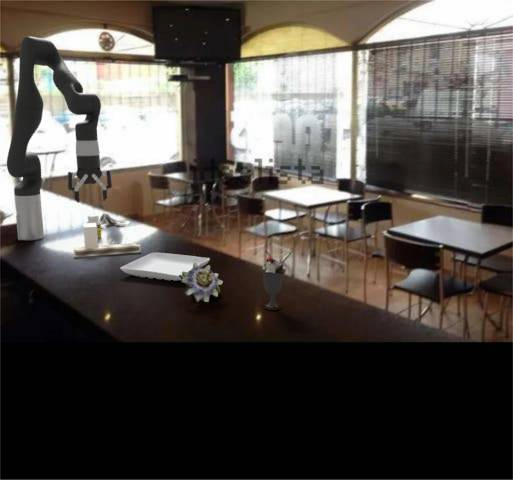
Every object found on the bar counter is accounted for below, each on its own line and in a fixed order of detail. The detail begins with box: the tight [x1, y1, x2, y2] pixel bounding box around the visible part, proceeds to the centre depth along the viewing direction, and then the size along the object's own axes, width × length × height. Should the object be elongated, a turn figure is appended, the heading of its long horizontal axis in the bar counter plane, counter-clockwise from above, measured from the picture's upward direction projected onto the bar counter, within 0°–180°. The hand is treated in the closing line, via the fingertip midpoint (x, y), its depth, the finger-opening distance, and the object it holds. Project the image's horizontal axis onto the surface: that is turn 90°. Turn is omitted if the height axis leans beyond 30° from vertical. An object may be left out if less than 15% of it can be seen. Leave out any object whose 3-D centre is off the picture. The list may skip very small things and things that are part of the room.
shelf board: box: [73, 242, 142, 258], centre depth 201 cm, size 22×14×3 cm, turn 109°
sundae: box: [259, 250, 287, 308], centre depth 145 cm, size 7×7×15 cm
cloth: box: [84, 211, 131, 230], centre depth 248 cm, size 22×19×6 cm
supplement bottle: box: [85, 214, 102, 240], centre depth 217 cm, size 5×5×10 cm
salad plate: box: [120, 252, 211, 282], centre depth 178 cm, size 21×21×3 cm
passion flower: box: [179, 262, 224, 303], centre depth 153 cm, size 11×11×12 cm
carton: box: [82, 223, 100, 249], centre depth 199 cm, size 6×4×9 cm
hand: (91, 201), depth 196 cm, fingers open, 8 cm apart
